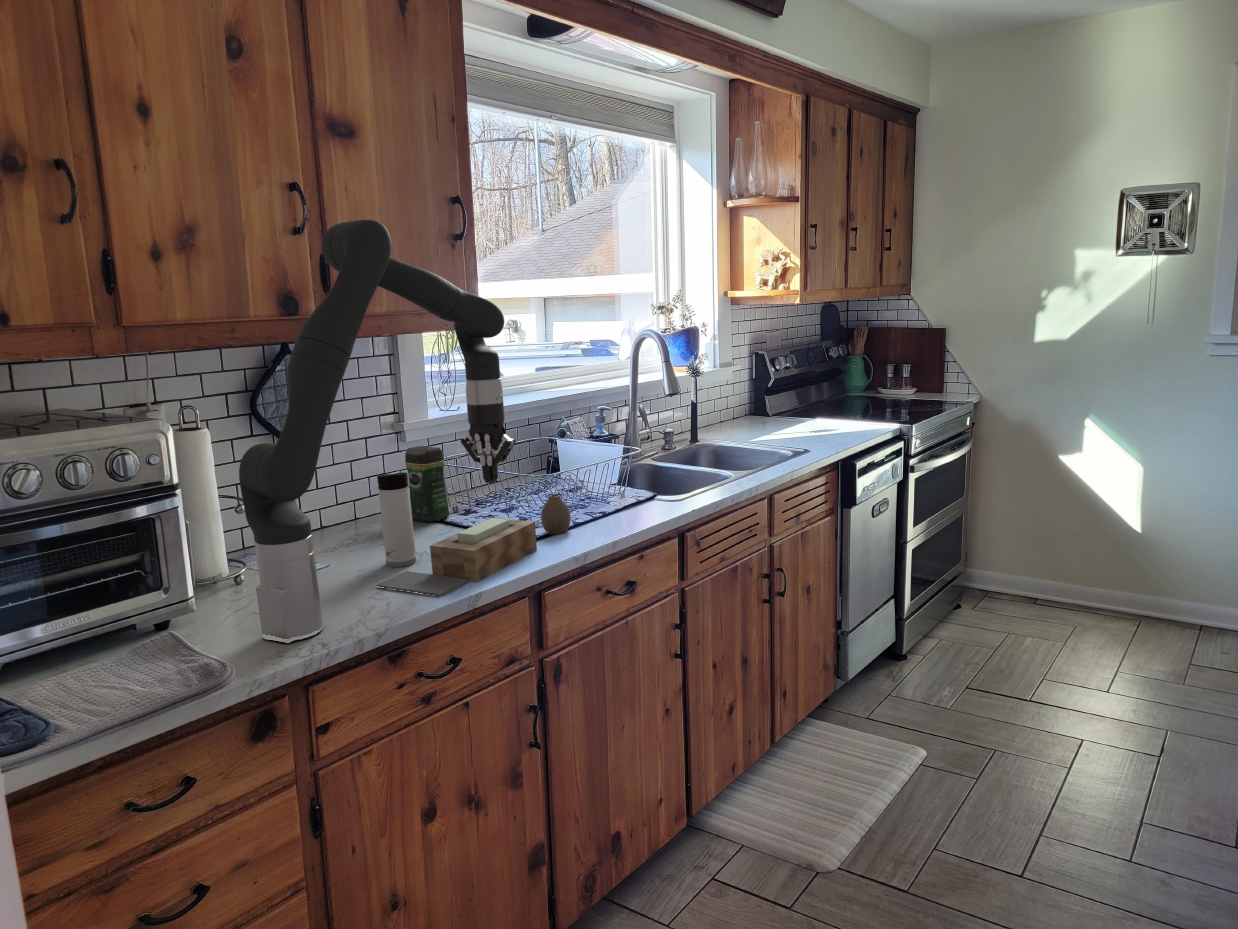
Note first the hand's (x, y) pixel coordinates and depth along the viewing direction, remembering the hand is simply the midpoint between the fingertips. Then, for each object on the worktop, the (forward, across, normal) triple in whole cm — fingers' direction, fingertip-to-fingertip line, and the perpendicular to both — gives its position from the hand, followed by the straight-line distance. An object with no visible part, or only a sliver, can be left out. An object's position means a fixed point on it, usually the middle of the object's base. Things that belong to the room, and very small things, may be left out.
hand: (491, 482), depth 193 cm
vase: (+17, +2, +21) cm, 27 cm away
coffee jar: (+17, -36, +22) cm, 45 cm away
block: (+13, 0, -4) cm, 13 cm away
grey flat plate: (+17, -4, -20) cm, 26 cm away
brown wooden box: (+17, 0, -4) cm, 17 cm away
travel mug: (+17, -18, -10) cm, 26 cm away
